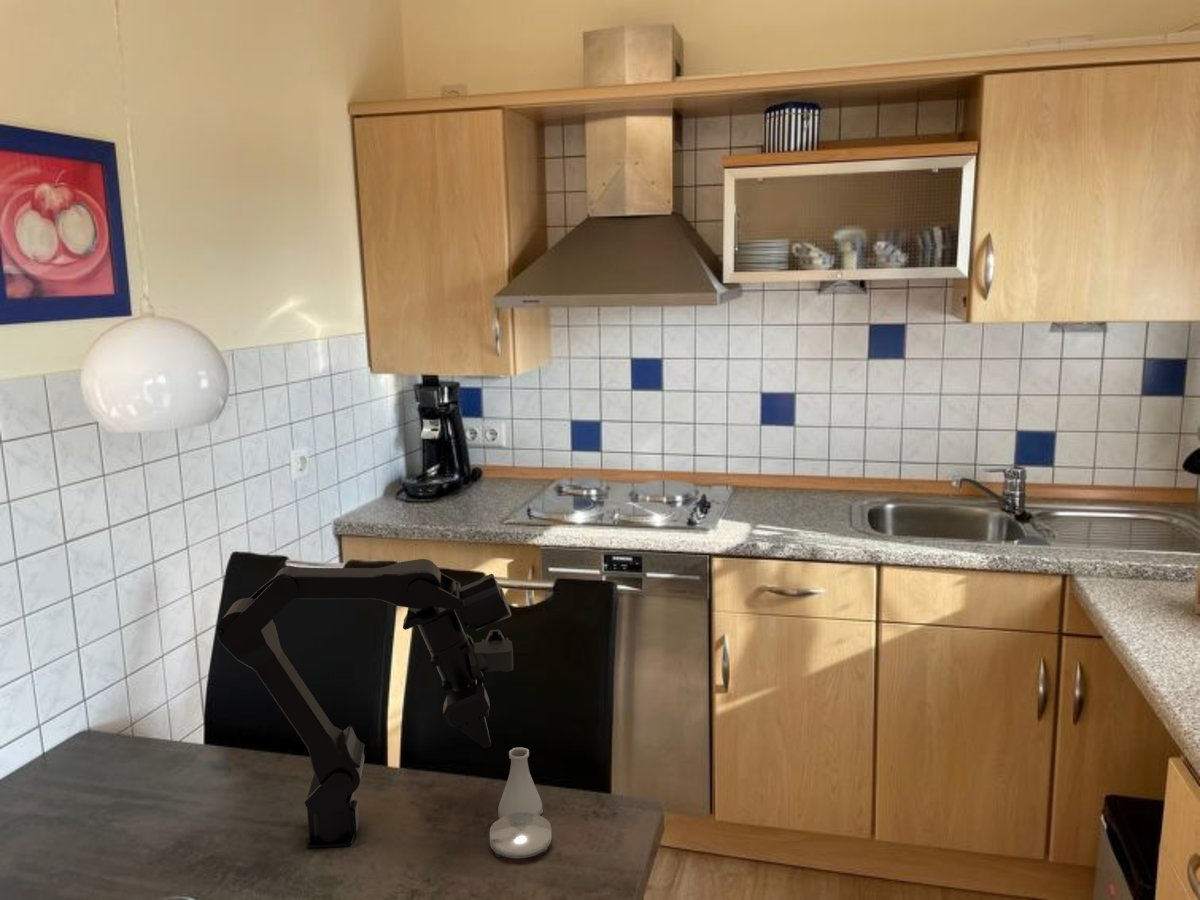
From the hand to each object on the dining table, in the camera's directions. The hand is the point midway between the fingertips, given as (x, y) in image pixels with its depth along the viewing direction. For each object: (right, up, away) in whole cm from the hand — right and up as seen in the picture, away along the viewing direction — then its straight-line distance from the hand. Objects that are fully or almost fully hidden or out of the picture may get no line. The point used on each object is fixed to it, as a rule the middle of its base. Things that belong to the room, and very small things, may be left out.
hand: (486, 731), depth 138 cm
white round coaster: (+5, -16, -4) cm, 17 cm away
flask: (+5, -14, +5) cm, 16 cm away
